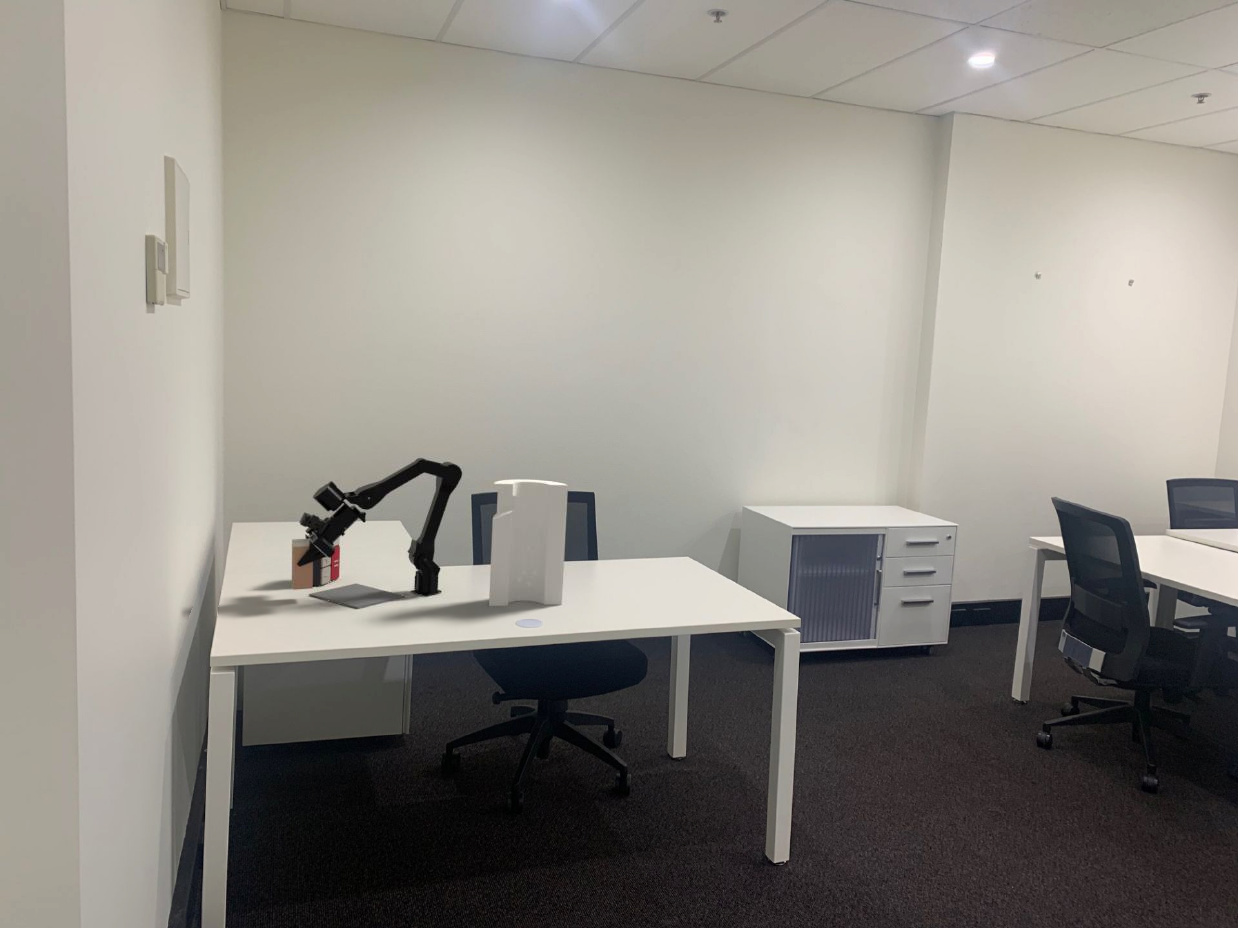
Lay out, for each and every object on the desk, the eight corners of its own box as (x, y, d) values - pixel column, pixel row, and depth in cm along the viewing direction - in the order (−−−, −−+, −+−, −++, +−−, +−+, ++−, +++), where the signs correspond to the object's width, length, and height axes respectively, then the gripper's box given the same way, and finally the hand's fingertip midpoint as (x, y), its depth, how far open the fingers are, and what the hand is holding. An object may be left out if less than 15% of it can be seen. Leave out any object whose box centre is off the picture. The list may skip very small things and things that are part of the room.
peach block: (310, 583, 248) (311, 538, 246) (312, 588, 243) (313, 542, 242) (291, 584, 246) (292, 539, 244) (293, 589, 241) (293, 543, 239)
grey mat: (403, 597, 254) (404, 595, 254) (357, 608, 239) (358, 607, 239) (356, 584, 264) (356, 583, 264) (309, 595, 250) (309, 593, 250)
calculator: (321, 587, 260) (322, 537, 258) (308, 585, 261) (309, 535, 259) (340, 578, 270) (341, 530, 269) (327, 577, 271) (329, 529, 270)
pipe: (562, 605, 255) (489, 606, 249) (554, 595, 266) (484, 596, 260) (568, 485, 251) (494, 484, 245) (560, 480, 262) (489, 478, 256)
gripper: (313, 497, 252) (272, 537, 248) (322, 508, 235) (278, 550, 231) (341, 524, 256) (301, 563, 252) (352, 536, 239) (309, 578, 236)
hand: (297, 563), depth 243 cm, fingers closed on peach block, 5 cm apart
